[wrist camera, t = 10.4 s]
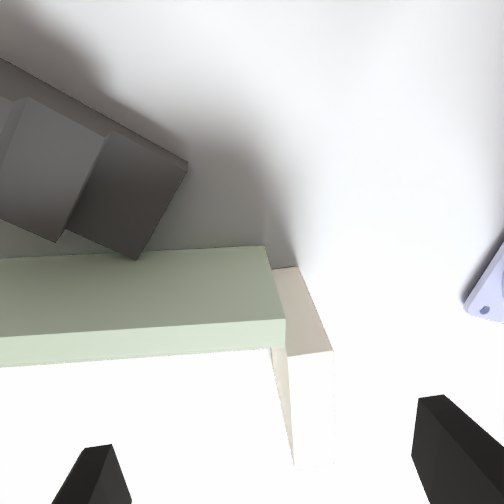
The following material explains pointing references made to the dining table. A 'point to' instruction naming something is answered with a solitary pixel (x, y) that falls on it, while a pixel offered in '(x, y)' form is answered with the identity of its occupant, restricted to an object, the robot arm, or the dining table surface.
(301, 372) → the rectangular block
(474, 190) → the dining table surface
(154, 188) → the grey stepped block
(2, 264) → the door
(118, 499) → the robot arm
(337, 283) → the dining table surface
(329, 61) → the dining table surface
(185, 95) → the dining table surface
